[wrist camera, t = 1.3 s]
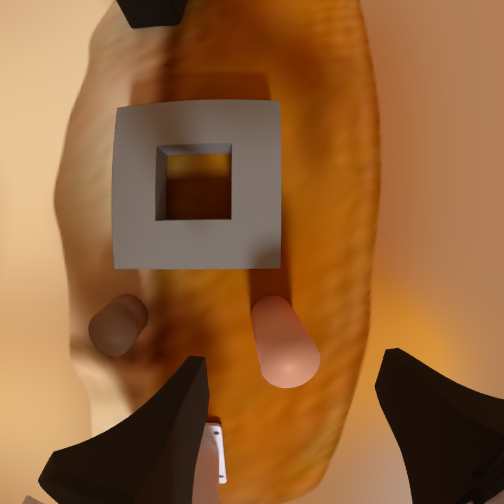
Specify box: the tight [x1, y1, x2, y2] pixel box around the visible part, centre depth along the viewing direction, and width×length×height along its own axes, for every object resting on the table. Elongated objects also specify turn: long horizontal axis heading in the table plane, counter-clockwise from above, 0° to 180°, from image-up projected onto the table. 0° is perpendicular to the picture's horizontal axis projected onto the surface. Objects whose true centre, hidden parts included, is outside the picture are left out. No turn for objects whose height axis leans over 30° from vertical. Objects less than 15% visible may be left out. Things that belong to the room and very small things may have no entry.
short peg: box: [89, 295, 148, 357], centre depth 17 cm, size 3×3×4 cm
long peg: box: [251, 295, 320, 388], centre depth 17 cm, size 3×3×7 cm
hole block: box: [112, 99, 281, 269], centre depth 17 cm, size 10×10×3 cm
